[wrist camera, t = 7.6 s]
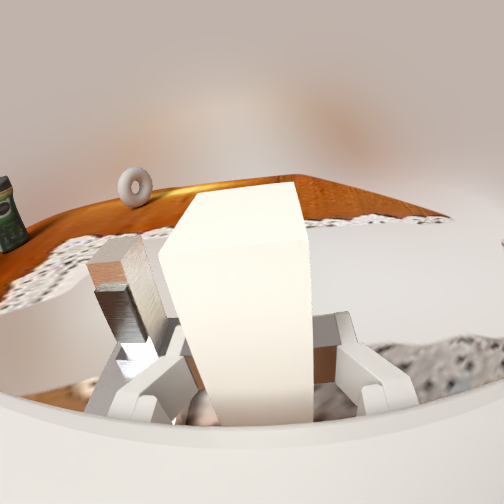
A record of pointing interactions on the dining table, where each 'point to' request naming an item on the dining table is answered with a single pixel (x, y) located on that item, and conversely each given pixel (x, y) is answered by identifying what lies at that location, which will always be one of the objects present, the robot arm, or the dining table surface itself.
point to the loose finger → (246, 302)
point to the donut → (126, 182)
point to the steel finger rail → (128, 318)
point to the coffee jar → (10, 219)
